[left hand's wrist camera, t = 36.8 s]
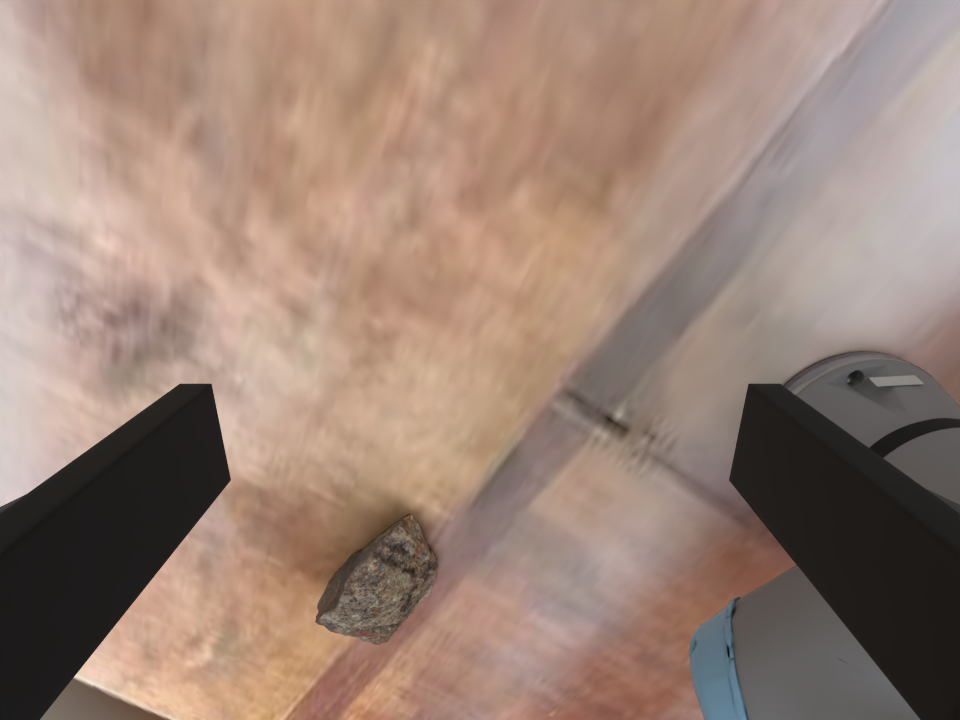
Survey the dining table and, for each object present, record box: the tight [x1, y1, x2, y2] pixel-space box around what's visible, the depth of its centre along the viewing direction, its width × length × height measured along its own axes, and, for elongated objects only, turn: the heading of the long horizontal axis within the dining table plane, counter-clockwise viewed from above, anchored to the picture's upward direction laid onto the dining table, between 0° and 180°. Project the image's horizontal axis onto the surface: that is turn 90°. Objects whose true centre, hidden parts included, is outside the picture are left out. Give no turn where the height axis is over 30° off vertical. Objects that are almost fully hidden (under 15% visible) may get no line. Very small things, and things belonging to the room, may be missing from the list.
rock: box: [315, 514, 438, 645], centre depth 47 cm, size 14×9×10 cm
